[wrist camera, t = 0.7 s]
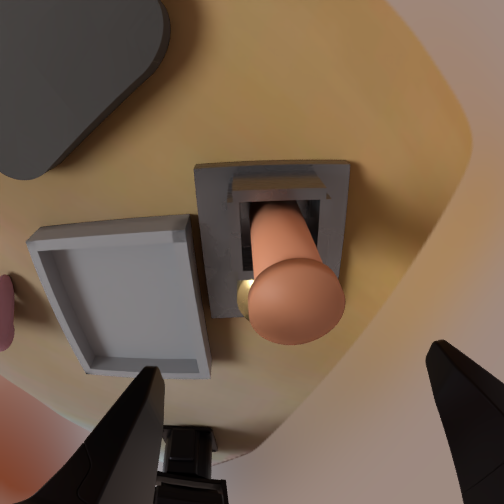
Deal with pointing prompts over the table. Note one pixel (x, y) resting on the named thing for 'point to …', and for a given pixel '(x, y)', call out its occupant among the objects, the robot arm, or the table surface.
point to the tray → (126, 294)
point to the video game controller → (6, 312)
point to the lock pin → (289, 277)
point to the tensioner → (238, 226)
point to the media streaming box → (69, 72)
